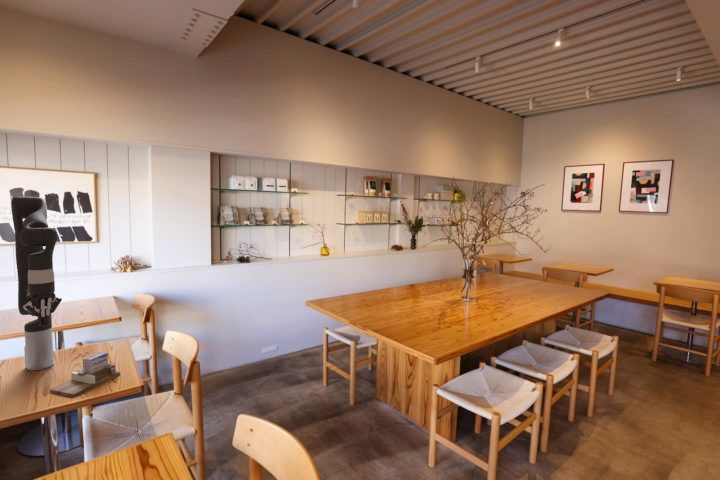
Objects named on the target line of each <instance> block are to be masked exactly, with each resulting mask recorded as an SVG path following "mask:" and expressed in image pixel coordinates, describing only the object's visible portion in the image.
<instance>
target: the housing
mask: <svg viewBox="0 0 720 480" xmlns="http://www.w3.org/2000/svg"><path fill="white" fill-rule="evenodd" d="M81 371H83V369H82V370H80V371H79V372H81ZM92 375H94V376H95V383H94V384H89V383H84V382H79V381H74V380H72V379H70V380H68V381H66V382H64V383H61V384H59V385H56V386H54V387H52V388H50V389H49V392H50V393H51V394H57V395H61V396H65V397H71V398H75V397H78V396H79V395H81V394H83V393H85V392H87V391H89V390H91V389H94V388H96V387H98V386H99V385H102V384H104V383H106V382H109V381H110V380H112V379H113V378H116V377H118V376H119V375H121V372H120V371H116V364H113V363H108V367H107V368H105V369H103V370H100V371H98V372H96V373H94V374H92Z"/></svg>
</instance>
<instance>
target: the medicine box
mask: <svg viewBox="0 0 720 480" xmlns="http://www.w3.org/2000/svg"><path fill="white" fill-rule="evenodd" d="M108 364H109V353H107V352H104V351H99V352H97V353H95V354H93V355H89V356H88V357H84V358H83V359H82V370H83V371H85V372H87V374H89V375H92V374H94V373H96V372H98V371H100V370H103V369H105V368H107V367H108Z"/></svg>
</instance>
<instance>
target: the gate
mask: <svg viewBox="0 0 720 480" xmlns="http://www.w3.org/2000/svg"><path fill="white" fill-rule="evenodd" d="M80 371H81V372H80ZM80 371H71V373H70V376H71V377H70V378H71V379H70V380H74V381H79V382H84V383H89V384H94V383H95V376H94V375H89V374H87V372H85V371H82V370H80Z"/></svg>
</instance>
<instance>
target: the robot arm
mask: <svg viewBox="0 0 720 480" xmlns="http://www.w3.org/2000/svg"><path fill="white" fill-rule="evenodd" d="M10 208H11V215H12V222H13V229H14V242H15V243H14V245H15V262H16V269H17V270H16V271H17V286H18V287H17V292H18V293H17V302H18V303H17V308H18V312H19V314H20V315H21V316H29V315H30V316H32V317H37V318H36V319H33V320H31V321H28V322H27V323H25V324H24V327H23V328H24V329H23V330H24V342H25V346H24V362H25V363H24V364H25V367H24V368H26V370H27V371H38V370H39V371H40V370H44V369H47V368H50V367H51V366H53V365H54V364H55V361H54V341H53V340H54V339H53V323H52V320H53V317H52V314H53V313H55V311H56V309H57V308H58V307H59V306H60V304H61V302H62V300H63V299H62V298H61V297H57V296H56V293H55V291H56V288H55V287H56V285H55V284H56V283H55V271H54V266H53V265H54V263H53V261H54V260H53V255H54V251H55V248H56V243H57V241H58V232H57V230H55V229H54V228H53V227H49V225H48V222H47V220H48V209H47V208H48V207H47V203H46V201H45V198H43V197H40V196H14V197H12V199H11V202H10Z"/></svg>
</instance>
